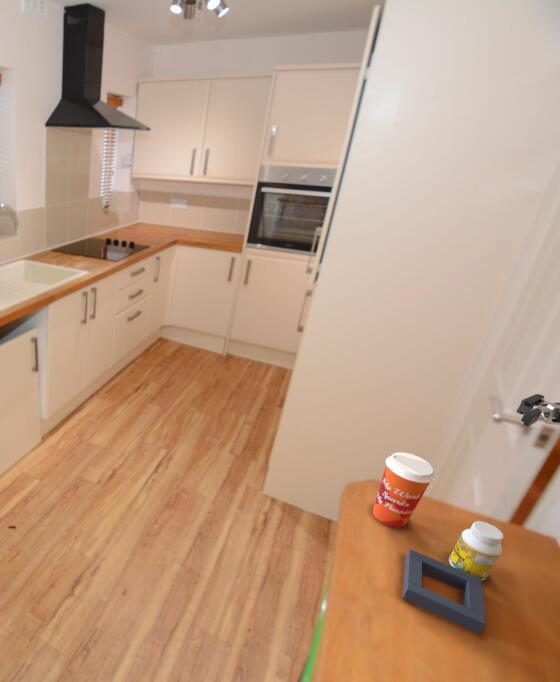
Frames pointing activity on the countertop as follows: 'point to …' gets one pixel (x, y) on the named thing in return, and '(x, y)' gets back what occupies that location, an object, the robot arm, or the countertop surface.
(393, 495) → the paper cup
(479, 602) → the bottle holder
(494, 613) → the countertop surface
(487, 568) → the supplement bottle
